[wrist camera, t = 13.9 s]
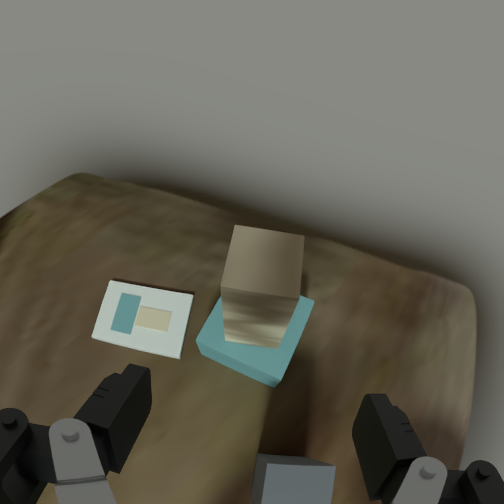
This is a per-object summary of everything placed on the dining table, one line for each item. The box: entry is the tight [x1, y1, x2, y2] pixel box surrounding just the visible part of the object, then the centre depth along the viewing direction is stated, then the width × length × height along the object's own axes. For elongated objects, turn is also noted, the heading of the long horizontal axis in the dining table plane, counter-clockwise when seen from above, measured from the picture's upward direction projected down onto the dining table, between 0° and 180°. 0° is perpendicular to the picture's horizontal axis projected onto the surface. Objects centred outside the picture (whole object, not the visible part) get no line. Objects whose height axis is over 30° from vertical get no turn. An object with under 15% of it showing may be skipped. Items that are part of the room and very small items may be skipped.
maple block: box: [220, 225, 305, 349], centre depth 23 cm, size 4×4×10 cm
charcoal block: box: [251, 453, 336, 504], centre depth 19 cm, size 4×4×10 cm
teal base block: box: [196, 295, 315, 388], centre depth 29 cm, size 8×8×5 cm
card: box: [92, 280, 194, 359], centre depth 31 cm, size 10×7×1 cm
